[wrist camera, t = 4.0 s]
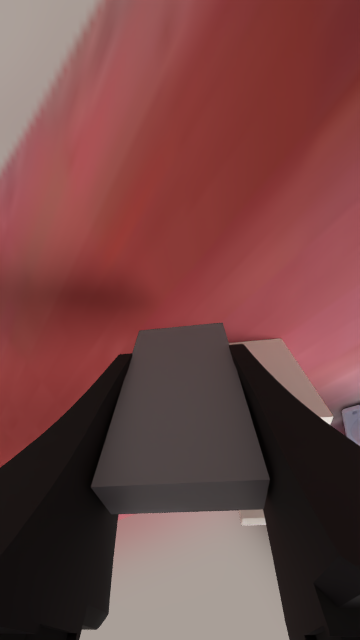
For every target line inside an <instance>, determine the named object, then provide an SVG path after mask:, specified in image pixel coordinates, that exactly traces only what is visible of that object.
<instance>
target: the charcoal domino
mask: <svg viewBox="0 0 360 640" xmlns="http://www.w3.org/2000/svg"><path fill="white" fill-rule="evenodd" d="M269 481H270V478H269V475H268V472H267V468H266V465H265V462H264V458H263V455H262V452H261V448H260V445H259V442H258V438H257V435H256V432H255V429H254V425H253V422H252V419H251V415H250V412H249V409H248V405H247V402H246V399H245V395H244V392H243V389H242V385H241V382H240V379H239V375H238V372H237V369H236V367H235V365H234V362H233V359H232V355H231V352H230V349H229V342H228V339H227V336H226V332H225V329H224V326H223V323H214V324H204V325H193V326H183V327H172V328H162V329H151V330H141V331H139V333H138V337H137V340H136V343H135V346H134V350H133V353H132V358H131V362H130V365H129V368H128V371H127V374H126V376H125V378H124V382H123V385H122V388H121V391H120V395H119V398H118V401H117V404H116V407H115V411H114V414H113V417H112V420H111V423H110V427H109V430H108V433H107V436H106V440H105V443H104V446H103V449H102V452H101V456H100V459H99V462H98V465H97V468H96V472H95V475H94V478H93V481H92V485H91V488H92V489H93V491H94V492H95V493H96V495H97V496H98V497H99V499H100V500H101V501H102V503H103V504H104V505H105V507H106V508H107V509H108V511H109V512H110V513H111V514H137V513H163V512H164V513H166V512H167V513H168V512H198V511H229V510H260V509H264V506H265V501H266V496H267V491H268V486H269Z"/></svg>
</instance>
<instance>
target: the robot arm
mask: <svg viewBox="0 0 360 640" xmlns="http://www.w3.org/2000/svg"><path fill="white" fill-rule="evenodd" d="M229 349H230V352H231V355H232V359H233V362H234V365H235V367H236V369H237V372H238V375H239V379H240V382H241V385H242V389H243V392H244V395H245V399H246V402H247V405H248V409H249V412H250V415H251V419H252V422H253V425H254V429H255V432H256V435H257V438H258V442H259V445H260V448H261V452H262V455H263V458H264V462H265V465H266V468H267V472H268V475H269V478H270V481H269V486H268V491H267V496H266V501H265V506H264V509H263V512H264V517H265V521H266V526H267V531H268V536H269V540H270V546H271V550H272V555H273V560H274V565H275V571H276V576H277V581H278V586H279V591H280V596H281V601H282V607H283V612H284V617H285V622H286V626H287V630H288V635H289V639H290V640H360V405H357V406H353V407H349V408H345V409H344V410H343V411H342V416H343V422H344V427H345V433H346V436H345V435H343V434H342V433H341V432H339V431H338V430H336V429H335V428H333V427H332V426H331V425H329V424H328V423H327V422H325V421H324V420H323V419H321V418H320V417H319V416H318V415H316V414H315V413H314V412H313V411H311V410H310V409H309V408H308V407H306V406H305V405H304V404H303V403H302V402H300V401H299V400H298V399H297V398H296V397H295V396H293V395H292V394H291V393H290V392H289V391H288V390H287V389H286V388H285V387H284V386H283V385H281V384H280V383H279V382H278V381H277V380H276V379H275V378H274V377H273V376H272V375H271V374H270V373H269V372H268V371H267V370H266V369H265V368H264V367H263V365H262V364H261V363H260V362H259V361H258V360H257V359H256V358H255V357H254V356H253V354H252V353H251V352H250V351H249V350H248V349H247V347H246V346H245V345H244V344H233V345H229ZM131 358H132V353H131V354H120V355H118V357H117V358H116V359H115V360H114V361H113V362H112V363H111V365H110V366H109V367H108V368H107V369H106V370H105V372H104V373H103V374H102V375H101V376H100V377H99V378H98V380H97V381H96V382H95V383H94V384H93V385H92V386H91V387H90V389H89V390H88V391H87V392H86V393H85V394H84V395H83V396H82V397H81V398H80V399H79V400H78V401H77V402H76V403H75V404H74V405H73V406H72V407H71V408H70V409H69V410H68V411H67V412H66V413H65V414H64V415H63V416H62V417H61V418H60V419H59V420H58V421H57V422H55V423H54V424H53V425H52V426H51V427H50V428H49V429H48V430H46V431H45V432H44V433H43V434H42V435H41V436H40V437H38V438H37V439H36V440H35V441H33V442H32V443H31V444H30V445H28V446H27V447H26V448H25V449H24V450H22V451H21V452H20V453H19V454H17V455H16V456H15V457H14V458H12V459H11V460H10V461H8V462H7V463H6V464H5V465H3V466H2V467H1V468H0V640H79V638H80V634H81V630H82V629H94V630H96V629H98V628H99V627H100V625H101V624H102V623H103V621H104V620H105V618H106V617H107V615H108V612H109V599H110V589H111V577H112V566H113V556H114V548H115V538H116V530H117V521H118V514H111V513H110V512H109V511H108V509H107V508H106V507H105V505H104V504H103V503H102V501H101V500H100V499H99V497H98V496H97V495H96V493H95V492H94V491H93V489H92V488H91V485H92V481H93V478H94V475H95V472H96V468H97V465H98V462H99V459H100V456H101V452H102V449H103V446H104V443H105V440H106V436H107V433H108V430H109V427H110V423H111V420H112V417H113V414H114V411H115V407H116V404H117V401H118V398H119V395H120V391H121V388H122V385H123V382H124V378H125V376H126V374H127V371H128V368H129V365H130V362H131Z"/></svg>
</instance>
